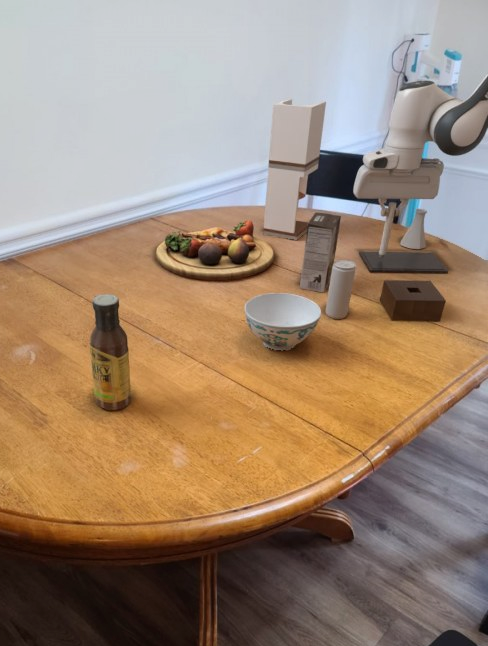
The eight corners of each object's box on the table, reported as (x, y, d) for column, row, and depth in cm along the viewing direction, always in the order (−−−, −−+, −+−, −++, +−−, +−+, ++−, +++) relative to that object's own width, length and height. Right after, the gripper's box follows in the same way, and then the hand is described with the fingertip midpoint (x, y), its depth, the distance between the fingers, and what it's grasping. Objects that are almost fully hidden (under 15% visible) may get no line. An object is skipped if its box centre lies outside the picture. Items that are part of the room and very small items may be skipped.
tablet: (431, 255, 156) (432, 251, 155) (447, 273, 145) (448, 270, 145) (358, 254, 156) (359, 251, 156) (369, 272, 146) (370, 269, 145)
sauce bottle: (89, 400, 99) (76, 296, 88) (118, 387, 102) (110, 285, 91) (108, 417, 95) (97, 310, 84) (139, 403, 98) (132, 299, 87)
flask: (396, 246, 161) (404, 211, 155) (404, 239, 166) (412, 204, 160) (421, 251, 158) (430, 215, 152) (429, 244, 163) (438, 209, 157)
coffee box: (306, 275, 144) (315, 211, 135) (332, 278, 142) (342, 214, 133) (298, 288, 138) (306, 223, 128) (324, 293, 136) (335, 226, 126)
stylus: (384, 255, 151) (395, 202, 142) (386, 258, 149) (397, 204, 141) (377, 255, 151) (388, 202, 143) (379, 257, 149) (390, 204, 141)
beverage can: (340, 322, 123) (349, 270, 116) (320, 315, 126) (328, 264, 119) (351, 314, 126) (360, 263, 119) (332, 308, 129) (340, 257, 122)
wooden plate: (229, 231, 172) (231, 203, 167) (298, 265, 149) (301, 235, 145) (135, 251, 158) (134, 221, 153) (195, 292, 136) (195, 259, 131)
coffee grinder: (296, 240, 165) (311, 107, 145) (263, 234, 169) (273, 104, 149) (310, 229, 173) (326, 101, 153) (277, 224, 177) (289, 98, 157)
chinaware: (330, 342, 116) (336, 308, 111) (286, 370, 107) (290, 334, 103) (272, 319, 125) (275, 286, 120) (227, 343, 116) (229, 308, 111)
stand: (425, 300, 132) (430, 280, 129) (440, 321, 124) (446, 300, 121) (379, 299, 133) (384, 279, 130) (391, 320, 124) (396, 299, 121)
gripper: (441, 155, 138) (427, 212, 146) (357, 154, 138) (347, 211, 146) (450, 161, 133) (435, 220, 141) (362, 161, 133) (352, 219, 141)
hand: (390, 215), depth 144 cm, fingers closed on stylus, 2 cm apart
